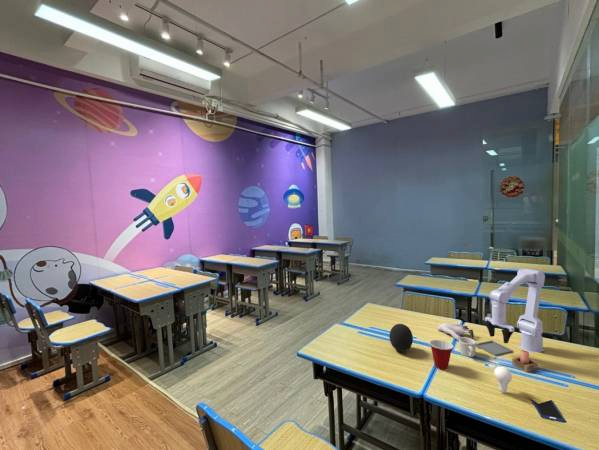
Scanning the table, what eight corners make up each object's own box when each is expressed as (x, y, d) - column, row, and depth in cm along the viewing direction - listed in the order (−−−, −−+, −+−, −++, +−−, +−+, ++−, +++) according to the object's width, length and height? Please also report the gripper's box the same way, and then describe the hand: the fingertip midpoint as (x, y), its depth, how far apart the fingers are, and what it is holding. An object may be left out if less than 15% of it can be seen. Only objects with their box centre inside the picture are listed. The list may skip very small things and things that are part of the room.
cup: (481, 362, 142) (481, 347, 141) (464, 361, 143) (463, 346, 143) (472, 351, 152) (472, 337, 152) (456, 350, 154) (456, 336, 153)
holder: (522, 363, 140) (522, 356, 140) (537, 370, 133) (537, 363, 133) (511, 365, 138) (511, 358, 138) (526, 373, 131) (526, 366, 131)
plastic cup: (453, 363, 142) (453, 340, 141) (453, 375, 133) (453, 350, 132) (430, 358, 147) (429, 336, 146) (428, 369, 138) (428, 346, 137)
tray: (491, 342, 161) (491, 340, 161) (512, 353, 149) (512, 350, 149) (475, 346, 158) (475, 343, 158) (495, 357, 146) (495, 354, 146)
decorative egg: (399, 342, 165) (398, 318, 164) (417, 351, 155) (417, 325, 154) (385, 349, 159) (384, 323, 158) (403, 358, 148) (403, 331, 147)
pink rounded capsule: (523, 364, 138) (523, 349, 137) (530, 368, 134) (530, 353, 134) (518, 365, 137) (518, 351, 136) (525, 369, 134) (525, 354, 133)
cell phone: (541, 419, 105) (541, 417, 105) (528, 395, 117) (528, 393, 117) (566, 424, 102) (566, 422, 102) (550, 399, 114) (550, 397, 114)
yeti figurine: (478, 336, 173) (444, 327, 188) (478, 326, 173) (444, 317, 188) (468, 345, 160) (432, 334, 174) (468, 333, 160) (432, 323, 174)
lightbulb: (512, 399, 115) (512, 373, 114) (494, 394, 118) (494, 369, 118) (510, 390, 120) (511, 365, 120) (493, 386, 124) (493, 362, 123)
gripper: (480, 310, 150) (480, 334, 150) (506, 320, 136) (506, 347, 136) (490, 308, 151) (490, 332, 152) (517, 318, 137) (517, 344, 138)
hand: (498, 339), depth 144 cm, fingers open, 7 cm apart
